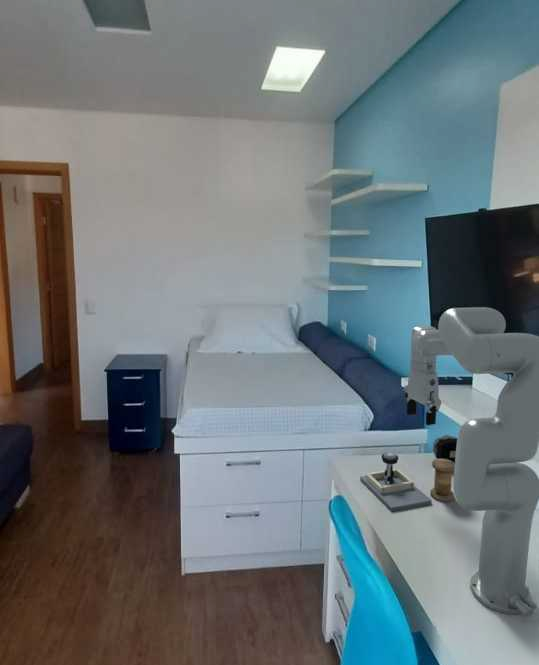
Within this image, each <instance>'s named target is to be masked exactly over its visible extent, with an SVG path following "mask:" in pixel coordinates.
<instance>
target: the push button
mask: <svg viewBox="0 0 539 665" xmlns="http://www.w3.org/2000/svg"><path fill="white" fill-rule="evenodd" d="M381 459H382V462H383V463H384V464H386V468H385V470H384V471H385V477H384V481H385V478H386V485H391V483H392V480H393V483H394V471H393V469H394V468H393V466H394V465H395V464H398V460H399V456H398V455H397V454H396V453H395V452H393V451H385V452H384V453H383V454H381Z"/></svg>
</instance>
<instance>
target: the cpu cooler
mask: <svg viewBox="0 0 539 665" xmlns="http://www.w3.org/2000/svg"><path fill="white" fill-rule="evenodd" d="M457 438H458V437H457ZM457 438H456V437H455V436H451V435H447V434H445V435H443V436H441V437H439V438H438V437H437V438H436V439H435V440H434V441H433V443H432V445H433V447H432V448H433V449H432V451H433V455H434V456H435V457H434V458H435V459H447V460H450V461H453V462H454V463H455V457H456V447H457Z"/></svg>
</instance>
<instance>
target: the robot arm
mask: <svg viewBox="0 0 539 665" xmlns="http://www.w3.org/2000/svg"><path fill="white" fill-rule="evenodd" d="M506 325H507V323H506V319H505V317H504V315H503V313H501V312H500V311H499V310H496V309H494V308H491V307H486V306H481V307H479V306H478V307H477V306H473V307H453V308H448V309H447V310H445V311H444V312H443V313H442V314H441V316H440V317H439V320H438V326H437V327H438V329H437V328H436V327H434V326H431V325H430V326H429V325H417V326H414V327H413V328H412V329H411V338H410V339H411V341H410V366H409V367H410V368H409V374H408V380H407V385H405V386H404V387H403V389H404V395H405V396H404V397H405V398H406V399H405V401H406V415H408V416H410V415H416V414H417V406H418V405H417V404H418V403H419V404H421V405H424V406H425V409H426V412H425V425H426V426H429V425H430V426H431V425H436V422H437V420H436V419H437V412H439V410H440V407H441V405H442V400H441V399H440V397H439V395H440V394H439V377H438V373H437V372H436V371H437V370H436V369H437V356H438V357H439V356H453V357H454V358H455V360H456V361H457V362H458V364H459V365H460V367H461V368H463V369H464V371H466V372H468V373H470V374H472V375H473V374H474V375H485V374H486V375H488V374H509V373H512V374H513V376H512V377H511V378H510V379H509V380H508V381H507V382H506V383H505V384H504V386H503V387H502V389H501V390H500V392H499V395H498V398H497V403H496V404H497V406H496V410H495V411H496V412H495V414H494V415H493V416H492V417H483V418H482V417H480V418H479V417H478V418H473V419H469V420H467V421H465V422H464V423H463V424H462V425H461V427H460V429H459V431H458V434H457V447H456V457H455V467H454V471H453V478H452V479H453V481H452V482H453V484H452V485H453V493H454V497H455V499H456V501H457V503H458V504H459V506H461V507H462V508H464V509H465V510H468V511H470V512H471V511H472V512H473V511H474V512H481V511H484V514H483V518H482V523H481V524H482V525H481V536H480V549H479V552H480V553H479V558H478V559H479V561H478V571H477V572H476V573H474V574H473V575H472V576H471V578H470V582H469V588H470V591H471V592H472V594H473V595H474V597H475V598H476V599H477V600H478V601H479V602H480V603H482V604H483V605H484V606H485V607H488V608H490V609H492V610H494V611H496V612H499V613H503V614H509V615H511V614H512V615H513V614H514V615H516V614H517V615H518V614H522V615H523V616H524V617H525V618H527V619H528V618H530V617H532V616H533V610H536V608H537V604H536V603H535V602H534V601H533V600H532V599H533V598H532V597H533V596H532V594H531V592H530V589H529V587H528V586H527V585H526V577H527V568H528V559H529V549H530V548H529V547H530V539H531V532H532V531H531V530H532V525H533V519H534V515H535V511H536V508H537V506H538V503H539V476H538V474H537V473H536V471H535V470H534V469H532V468H531V467H530V466H528V465H527V464H523V463H524V462H528V461H530V460H532V459H534V458H535V456H536V454H537V453H538V448H539V336H538V335H535V334H532V333H525V332H524V333H523V332H506V333H505V330H506ZM417 402H418V403H417Z"/></svg>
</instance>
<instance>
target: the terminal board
mask: <svg viewBox="0 0 539 665" xmlns="http://www.w3.org/2000/svg"><path fill="white" fill-rule="evenodd" d="M393 471H394V483H393V480H392V483H391V485H386V478H385V481H384V477H385V470H380V471H373V472H368V473H365V475H362V476H360V477H359V481H361V483H363V485H364V486H365V487H366V488H368V490H369V491H370V492H372V494H373V495H374V496H375V497H376V498H377V499H378V500H379V501H380V502H381V503H382V504H383V505H384V506H385V507H386V508H387V509H388V510H389V511H390V512H395V511H400V510H405V509H411V508H418V507H423V506H427V505H432V499H431V498H430V497H428V496H427V495H426V494H425V493H423V492H422V490H420V489H419V488H418V487H417V486H415V482H414V481H413V480H412V479H410V477H408V476H407V475H406V474H405V473H404V472H402V471H401V469H399V468H393Z"/></svg>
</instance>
